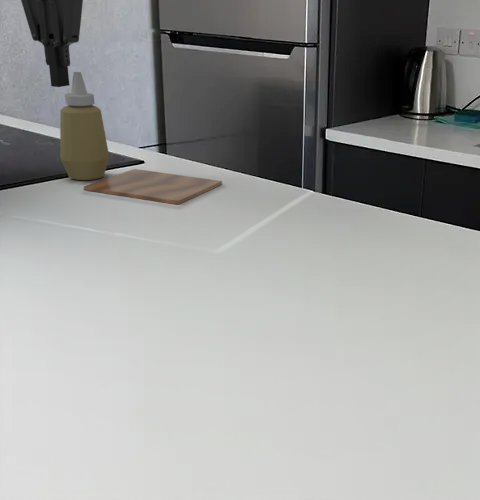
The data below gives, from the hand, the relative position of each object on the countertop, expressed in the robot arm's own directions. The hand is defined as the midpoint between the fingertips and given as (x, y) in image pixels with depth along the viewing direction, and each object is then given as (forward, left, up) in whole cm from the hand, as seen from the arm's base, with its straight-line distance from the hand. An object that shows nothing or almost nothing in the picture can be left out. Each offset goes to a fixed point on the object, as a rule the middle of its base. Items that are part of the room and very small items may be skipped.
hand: (60, 85), depth 116 cm
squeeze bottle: (+4, 0, -16) cm, 16 cm away
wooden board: (+18, 0, -16) cm, 24 cm away
